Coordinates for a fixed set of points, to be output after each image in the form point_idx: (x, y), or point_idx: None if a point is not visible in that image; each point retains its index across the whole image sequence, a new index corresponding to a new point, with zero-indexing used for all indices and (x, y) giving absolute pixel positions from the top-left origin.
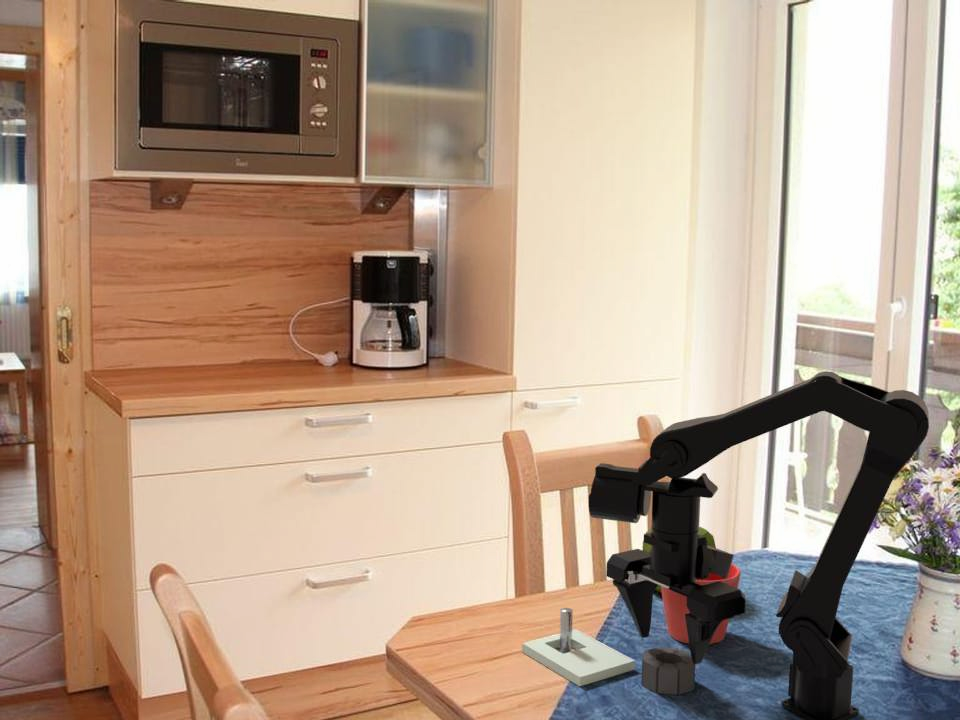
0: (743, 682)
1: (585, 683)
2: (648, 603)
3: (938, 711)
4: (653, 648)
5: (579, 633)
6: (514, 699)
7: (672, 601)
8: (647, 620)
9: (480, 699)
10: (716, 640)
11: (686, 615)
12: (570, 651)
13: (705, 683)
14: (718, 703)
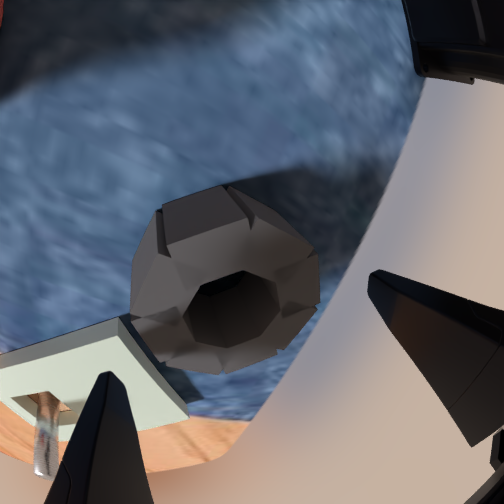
0: (291, 44)
1: (181, 400)
2: (105, 499)
3: None
4: (141, 336)
5: None
6: (206, 444)
7: None
8: (112, 432)
9: (197, 457)
10: (2, 2)
11: (476, 441)
12: (54, 399)
13: (253, 157)
14: (355, 189)
